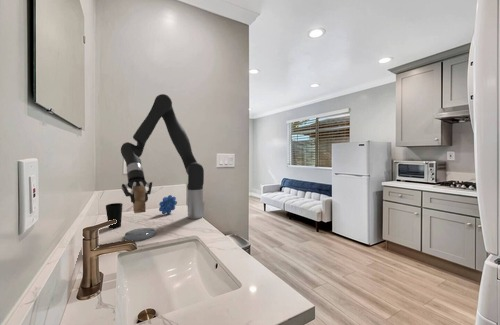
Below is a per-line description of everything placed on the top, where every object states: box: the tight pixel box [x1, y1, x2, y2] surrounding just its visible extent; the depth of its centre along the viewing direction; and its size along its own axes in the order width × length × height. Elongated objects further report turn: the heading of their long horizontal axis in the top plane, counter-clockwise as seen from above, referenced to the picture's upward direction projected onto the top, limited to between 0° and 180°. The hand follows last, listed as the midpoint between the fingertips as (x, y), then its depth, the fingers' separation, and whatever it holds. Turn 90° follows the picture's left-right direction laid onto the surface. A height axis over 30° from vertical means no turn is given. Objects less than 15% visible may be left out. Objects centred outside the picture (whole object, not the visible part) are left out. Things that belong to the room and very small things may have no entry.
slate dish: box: [124, 227, 156, 242], centre depth 107 cm, size 13×13×2 cm
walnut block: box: [132, 186, 146, 214], centre depth 106 cm, size 4×4×12 cm
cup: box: [105, 202, 123, 230], centre depth 119 cm, size 8×8×12 cm
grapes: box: [158, 194, 178, 215], centre depth 144 cm, size 12×7×12 cm, turn 131°
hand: (140, 201), depth 105 cm, fingers closed on walnut block, 4 cm apart
